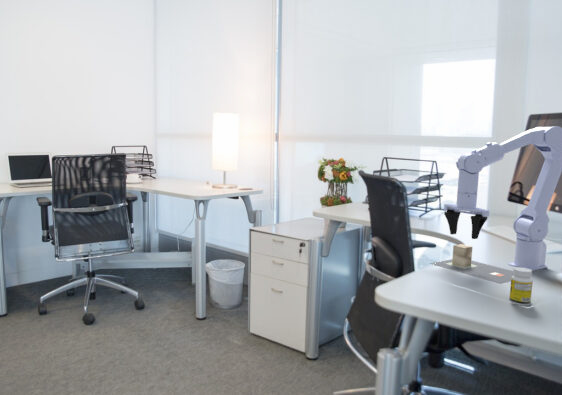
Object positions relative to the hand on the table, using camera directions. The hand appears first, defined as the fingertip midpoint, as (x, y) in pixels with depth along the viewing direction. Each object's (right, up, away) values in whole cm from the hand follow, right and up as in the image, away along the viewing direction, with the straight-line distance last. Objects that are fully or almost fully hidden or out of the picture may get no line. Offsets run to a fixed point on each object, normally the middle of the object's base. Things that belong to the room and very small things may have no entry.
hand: (463, 236), depth 152 cm
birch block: (0, -9, +1) cm, 9 cm away
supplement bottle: (+1, -14, -33) cm, 36 cm away
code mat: (+3, -10, -4) cm, 11 cm away
